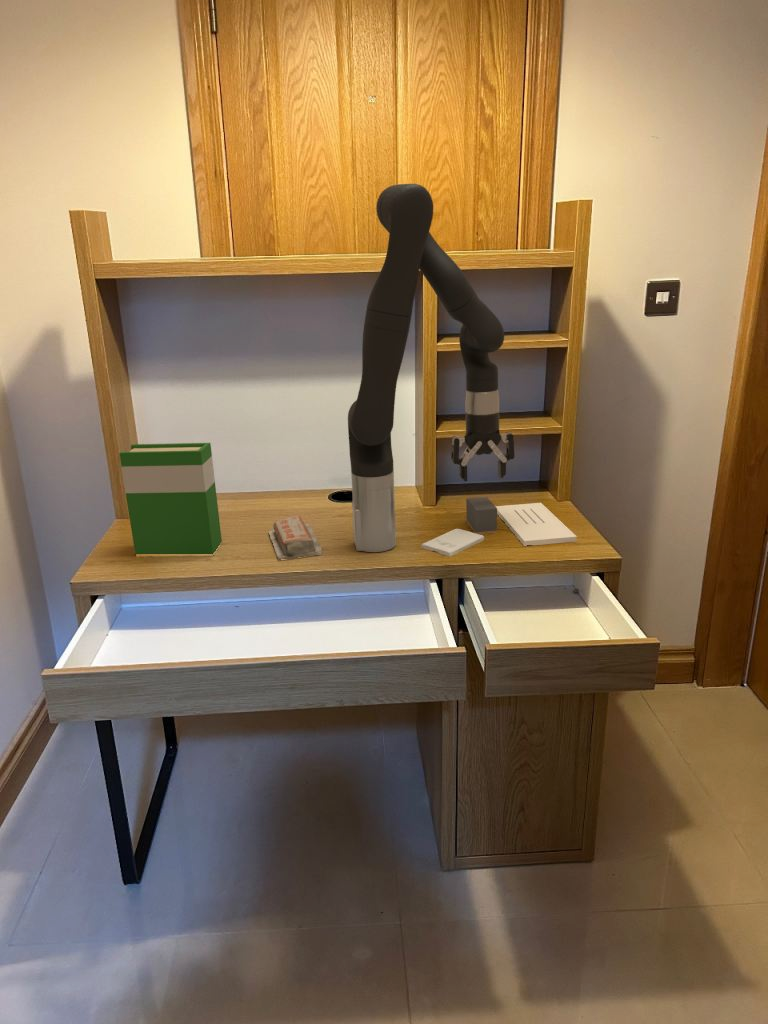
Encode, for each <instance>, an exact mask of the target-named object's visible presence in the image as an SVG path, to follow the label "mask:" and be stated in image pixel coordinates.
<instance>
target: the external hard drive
mask: <svg viewBox="0 0 768 1024" xmlns="http://www.w3.org/2000/svg"><path fill="white" fill-rule="evenodd" d="M483 541H485V536H484V534H476V533H474V532H471V531H468V530H464V529H462V528H455V529H452V530H450V531H447V532H446V533H444V534H441V535H439V536H436V537H435V538H432V539H430V540H428V541H425V542H423V543H421V544H420V548H421V549H424V550H426V551H431V552H435V553H438V554H441V555H442V556H447V557H452V556H455V555H456V554H458V553H460V551H461V552H462V551H464V550H466V549H468V548H471V547H473V546H474V545H477V544H479V543H481V542H483Z"/></svg>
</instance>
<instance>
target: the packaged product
mask: <svg viewBox="0 0 768 1024" xmlns="http://www.w3.org/2000/svg"><path fill="white" fill-rule="evenodd" d="M272 528H273V529H272V530H268V534H269V535H270V536H269V538H270V540H271V543H273V544H272V547H273V546H274V547H273V550H274V549H275V550H274V552H275V555H276V557H277V559H278V561H279V560H281V559H290V560H292V559H291V558H298V557H304V556H312V557H315V556H314V555H319V556H323V549H322V547H321V545H320V543H319V542H318V541H319V540H318V539H317V537H316V535H315V533H314V531H313V529H312V528H311V526H310V523H305V522H304V521H303V518H302V516H301V515H300V516H299V515H296V514H293V515H288V516H285V517H284V518H281V519H278V520H276V521H275V522H274V523H273V525H272ZM298 559H299V558H298Z"/></svg>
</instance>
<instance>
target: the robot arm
mask: <svg viewBox="0 0 768 1024" xmlns="http://www.w3.org/2000/svg"><path fill="white" fill-rule="evenodd" d="M433 201H434V200H433V198H432V196H431V193H430V192H429V190H427V188H426V187H424V186H423V185H421V184H417V183H397V184H393V185H390V186H388V187H386V188H385V189H383V190H382V192H381V193H380V194H379V196H378V198H377V202H376V215H377V219H378V221H379V223H380V225H382V227H383V228H384V229H385V230H386V231H387V232H388V233H389V234H388V244H387V251H386V255H385V259H384V262H383V265H382V267H381V270H380V272H379V274H378V276H377V278H376V279H375V283H374V285H373V287H372V289H371V291H370V294H369V296H368V300H367V305H366V311H365V318H364V323H363V331H362V332H363V333H362V348H361V352H362V353H361V355H362V360H361V363H362V365H361V367H362V370H361V371H362V372H361V380H360V385H359V389H358V393H357V398H356V399H355V401H353V403H352V404H351V405H350V407H349V410H348V412H347V429H348V433H347V434H348V443H349V444H348V445H349V446H348V447H349V448H348V449H349V460H350V461H349V462H350V471H351V474H350V475H351V488H352V489H351V490H352V491H351V493H352V503H351V506H352V509H351V510H352V511H351V512H352V513H351V514H352V529H353V530H352V532H353V542H354V547H355V549H356V552H366V553H381V552H387V551H389V550H392V549H393V548H395V547H396V546H397V534H396V531H397V529H396V506H395V505H396V504H395V503H396V501H395V475H394V473H395V472H394V456H393V448H392V431H393V427H394V422H395V420H394V418H395V417H394V416H395V404H396V403H395V402H396V392H397V385H398V384H397V383H398V378H399V374H400V371H401V366H402V363H403V359H404V355H405V350H406V345H407V342H408V341H407V340H408V337H409V334H410V333H409V331H410V328H411V327H410V326H411V322H412V321H411V320H412V315H413V308H414V302H415V296H416V291H417V286H418V285H417V284H418V279H419V272H421V274H422V275H423V277H424V278H425V279H426V281H427V282H428V284H429V285H430V287H431V288H432V290H433V292H435V295H436V296H437V298H438V300H439V301H440V303H441V304H442V306H443V308H444V309H445V310H446V312H447V313H448V315H449V316H450V318H452V319H453V320H455V321H457V322H459V323H461V324H462V326H461V327H460V330H459V331H460V332H459V337H458V339H459V340H458V341H459V347H460V353H461V355H462V356H461V358H462V360H463V364H464V367H465V372H466V373H465V381H466V383H465V385H466V387H465V389H466V391H465V406H464V410H465V435H464V437H462V436H461V437H457V436H455V435H454V436H452V437H451V452H450V453H451V456H450V460H451V462H452V463H453V464H454V465H458V467H459V469H458V470H459V477H460V479H461V480H462V481H463V482H468V462H469V461H470V460H472V458H474V456H475V455H477V456H480V455H484V454H485V455H491V453H494V454H495V456H496V457H497V458H498V459H499V460H498V461H497V476H498V478H499V479H504V476H506V474H507V462H509V461H510V460H514V458H516V457H515V442H514V441H515V440H514V439H515V438H514V435H513V434H512V433H511V432H510V431H507V432H505V433H500V396H499V370H498V369H499V368H498V366H497V364H496V363H494V362H492V360H491V359H490V355H489V353H494V352H497V351H498V350H499V349H501V348H502V346H503V344H504V341H505V331H504V330H505V329H504V327H503V324H502V323H501V321H500V320H499V318H498V317H497V316H496V314H495V313H494V312H493V311H492V310H491V309H490V308H489V307H488V306H487V305H486V304H485V303H484V302H483V301H482V300H481V299H480V298H479V296H478V293H476V291H475V289H474V287H473V285H472V284H471V283H470V281H469V279H468V278H467V276H466V275H465V273H464V272H463V271H462V269H461V268H460V266H458V265H457V263H456V262H455V261H454V260H453V259H452V258H451V257H450V255H448V254H447V252H446V251H445V250H444V249H443V248H442V247H441V246H440V245H439V244H438V242H437V241H436V239H435V238H434V237H433V235H432V234H431V232H430V230H431V226H432V223H433V222H432V221H433V216H434V202H433ZM501 441H503V442H504V444H505V451H506V452H505V453H504V454H503V452H502V451H501V450H500V448H499V447H498V445H499V444H500V442H501ZM463 443H465V444H466V446H467V447H466V448H465V450H464V451H463V454H462V455H461V457H460V448H461V447H462V446H463Z"/></svg>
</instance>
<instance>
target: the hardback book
mask: <svg viewBox="0 0 768 1024" xmlns="http://www.w3.org/2000/svg"><path fill="white" fill-rule="evenodd" d="M130 449H131V450H129V451H120V452H119V461H120V466H121V472H122V478H123V485H124V486H123V487H124V491H125V498H126V504H127V511H128V516H129V517H128V518H129V522H130V530H131V536H132V541H133V548H134V555H135V554H213V553H214V552H215V551H216V549H217V548H218V546H219V545H220V543H221V542H222V543H223V539H222V531H221V522H220V513H219V505H218V504H219V503H218V496H217V488H216V480H215V478H216V477H215V472H214V471H215V469H214V463H213V453H212V445H211V442H186V443H184V442H183V443H182V442H181V443H177V442H176V443H175V442H174V443H141V444H140V443H139V444H138V443H136V444H135V443H134V444H130Z"/></svg>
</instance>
